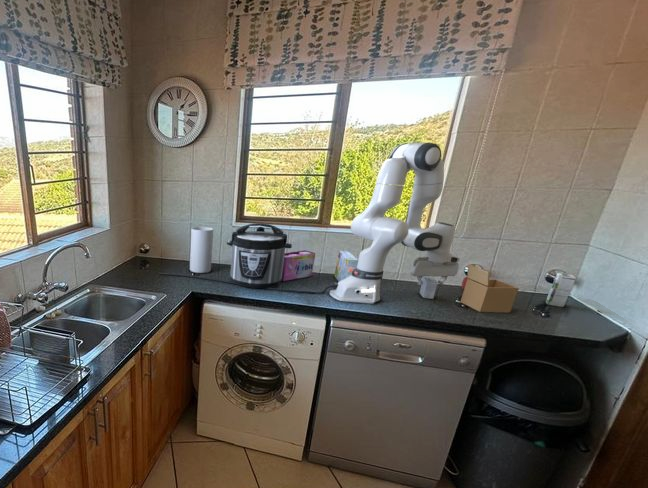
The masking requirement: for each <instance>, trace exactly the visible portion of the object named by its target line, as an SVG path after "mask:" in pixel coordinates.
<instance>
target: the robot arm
mask: <svg viewBox="0 0 648 488" xmlns="http://www.w3.org/2000/svg"><path fill="white" fill-rule="evenodd" d="M410 171H413V172H414V179H413V186H412V187H413V188H412V193H411V196H410V199H409V202H408V207H407V212H406V218H405V220H401V219H398V218H394V217H389V216H385V215H386V213H387V211H389V210H390V209H392V208H396V206H398V205H399V204H400V202H401V199H402V195H403V191H404V187H405V183H406V178H407V175H408V174H409V172H410ZM444 180H445V166H444V160H443V159H442V149H441V146H440V145H438V144H436V143H434V142H418V141H416V142H415V141H414V142H409V143H407V142H406V143H402V144H399V145H397V146H395V147H394V148H393V149H392V151H391V152H390V154H389V157H388V159H386V160H385V161H384V162H383V163H382V165H381V168H380V170H379V172H378V174H377V177H376V180H375V185H374V189H373V191H372V192H373V193H372V196H371V199H370V201H369V203H368V205H367V207H366V208H365V209H364V210H363V211H362V212H361V213H360V214H358V215H357V216H355V217H354V218H353V220H352V221H351V224H350V231H351V233H352V234H353V235H355V236H357V237H358V238H361V239H365V240H372V242H371V245H370V246H369V247H365V248H364V249H362V250H361V251H360V252H359V255H358V258H357V259H358V264H357V267H356V268H355V269H353V268H349V269H348V271H349V272H352V275H350V276H349V277H347V278H345V279H343V280H341V281H337V282H336V281H333V282H332V284H331V285H328V286H326V287H325V288H324V290H322V291H319V292H318V291H312V290H310V291H309V290H298V289H297V290H296V289H286V288H285V289H284V288H276V287H270V288H269V287H268V288H262V289H263V290H270V291H279V292H280V291H281V292H288V293H301V294H312V295H314V294H315V295H316V294H317V295H319V294H324V293H326V292H327V290H328V289H330V288H332V290H330V291H329V295H330V296H331V297H332V298H333V299H335V300H337V301H339V302H349V303H358V304H359V303H360V304H361V303H362V304H373V305H374V304H376V302H379V301H381V282H382V280H383V277H384V267H385V263H386V260H387V257H388V255H389V252H390V251H391V250H392V249H393V248H394V247H395V246H396V245H398V244H401V245H403V246H404V247H408V248H410V249H413V250H416V251H419V252H426V255H425V256H418V257H416V258H415V259H413V263H412V265H411V268H410V270H409V273H410V275H411V276H413V277H416V279H417V285H418V286H421V285H423V278H424V277H440V280H437V282H438V283H437V285H439V286H443V285H444V282H446V280H447V279H448V277H455V276H457V274H458V271H459V267H460V264H459V262H460V260H461V259H460V257H458V256H457V255H453V254H451V247H452V245H453V243H454V239H455V235H456V227H455V226H454V225H453V224H450V223H446V222H439V221H438V222H435V224H433V225H432V226H429V227H427V228H422V225H421V222H422V218H423V213H424V209H425V208H426V206H427V205H430V204H432V203H434V202H435V201H437V200H438V199H439V198H440V197H441V194H442V193H443V189H444ZM158 274H159V275H162V276H163V275H164V276H175V277H176V276H178V277H186V278H195V279H202V280H208V281H215V282H222V283H226V284H232V285H237V284H236V283H234V282H233V281H230V280H224V279H219V278H213V277H207V276H206V277H205V276H199V275H190V274H182V273H169V272H158Z"/></svg>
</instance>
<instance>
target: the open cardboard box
mask: <svg viewBox="0 0 648 488" xmlns="http://www.w3.org/2000/svg"><path fill="white" fill-rule="evenodd" d="M519 289H520V288H519V287H517V286H515V285H512V284H509V283H506V282H504V281H501V280H499V279H493V278H492V279H491V278H489V286H486V285H484V284H482V283H479V282H477V281H475V280H472V279H467V282H466V285H465V288H464V291H463V292H462V295H461V299H460V303H461V304H463V305H465V306H467V307H469V308H471V309H473V310H474V311H477V312H479V313H507V314H510V313H511V311H512V309H513V306H514V303H515V301H516V297H517V294H518V292H519Z"/></svg>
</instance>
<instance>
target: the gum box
mask: <svg viewBox="0 0 648 488" xmlns="http://www.w3.org/2000/svg"><path fill="white" fill-rule="evenodd" d="M315 259H316V252H313V251H309V250H306V249H305V250H297V251H290V252H285V255H284V263H283V271H282V279H281V282H287V281H291V280H297V279H302V278H308V277H312V276H313V270H314V264H315Z"/></svg>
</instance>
